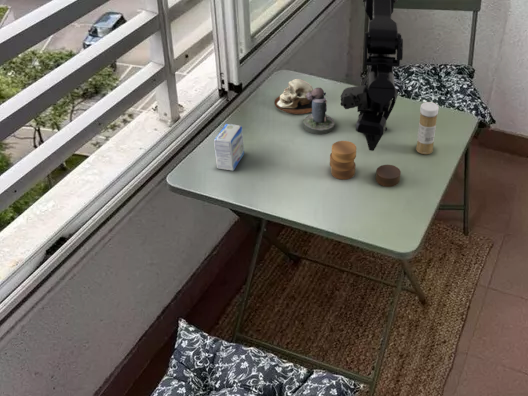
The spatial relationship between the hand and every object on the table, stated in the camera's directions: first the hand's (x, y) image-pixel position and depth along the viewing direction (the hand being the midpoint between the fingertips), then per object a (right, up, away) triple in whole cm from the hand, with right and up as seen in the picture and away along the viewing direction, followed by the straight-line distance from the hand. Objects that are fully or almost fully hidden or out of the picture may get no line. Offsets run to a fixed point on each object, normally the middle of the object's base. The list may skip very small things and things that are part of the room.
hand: (375, 140), depth 162 cm
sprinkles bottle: (+13, -1, +18) cm, 22 cm away
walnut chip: (+3, -9, +6) cm, 12 cm away
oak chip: (-8, -4, +5) cm, 10 cm away
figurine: (-15, +6, +25) cm, 30 cm away
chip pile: (-8, -8, +8) cm, 13 cm away
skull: (-22, +13, +33) cm, 42 cm away
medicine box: (-36, -5, +9) cm, 38 cm away
